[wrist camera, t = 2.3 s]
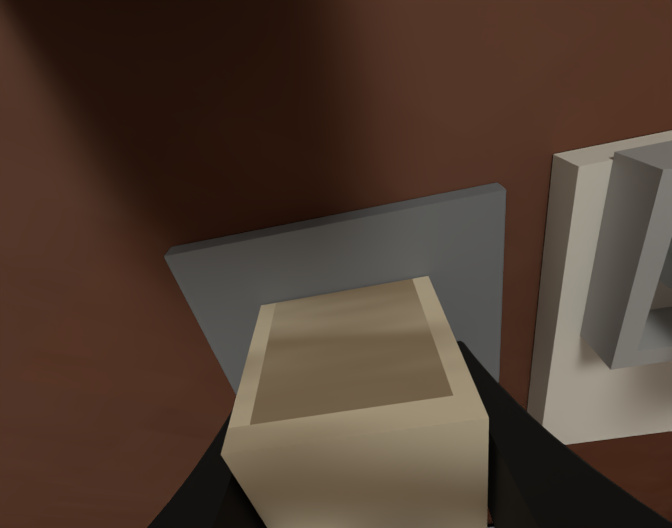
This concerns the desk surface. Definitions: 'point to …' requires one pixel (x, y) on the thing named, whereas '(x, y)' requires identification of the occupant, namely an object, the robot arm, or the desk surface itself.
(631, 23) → the desk surface
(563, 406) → the build board
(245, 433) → the box
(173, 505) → the robot arm
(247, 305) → the tile
